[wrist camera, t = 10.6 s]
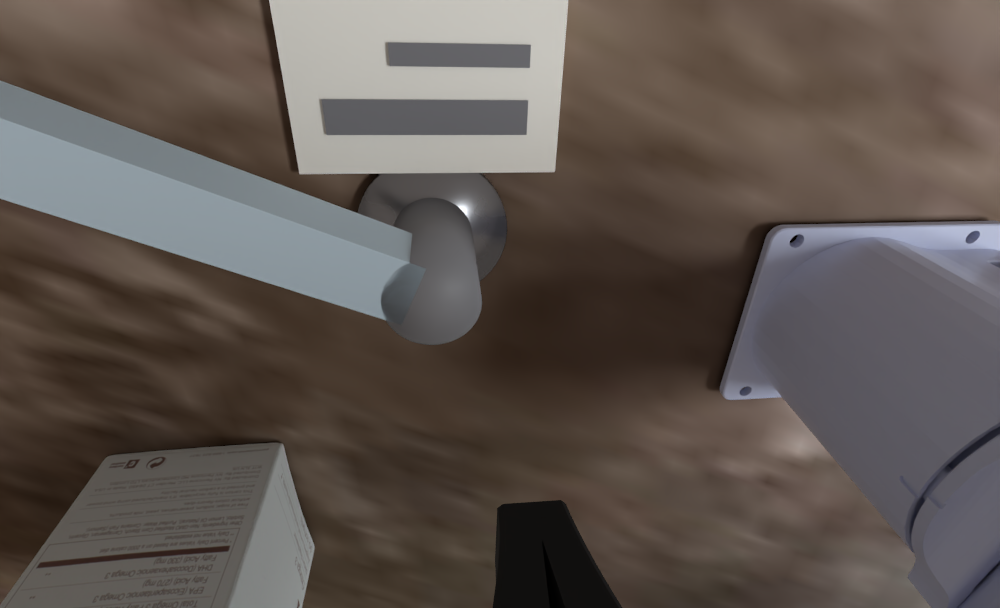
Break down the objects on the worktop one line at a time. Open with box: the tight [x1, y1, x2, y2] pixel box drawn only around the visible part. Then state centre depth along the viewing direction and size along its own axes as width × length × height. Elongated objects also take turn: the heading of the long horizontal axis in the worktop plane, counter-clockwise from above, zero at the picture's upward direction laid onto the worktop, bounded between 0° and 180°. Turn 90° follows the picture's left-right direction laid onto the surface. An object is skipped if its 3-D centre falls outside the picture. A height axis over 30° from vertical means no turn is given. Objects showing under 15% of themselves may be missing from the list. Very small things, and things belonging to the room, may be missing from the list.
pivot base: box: [358, 159, 507, 281], centre depth 18 cm, size 5×5×1 cm
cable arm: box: [0, 81, 482, 345], centre depth 13 cm, size 16×3×5 cm, turn 65°
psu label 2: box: [269, 0, 568, 174], centre depth 15 cm, size 8×5×1 cm, turn 89°
